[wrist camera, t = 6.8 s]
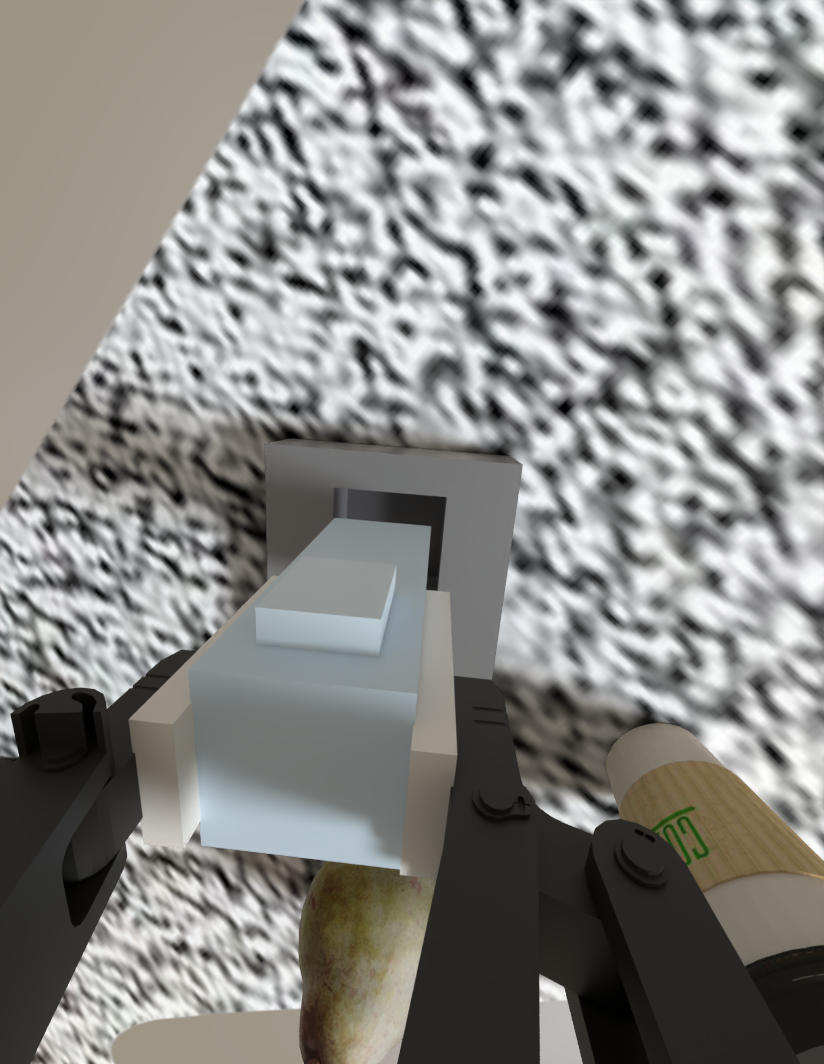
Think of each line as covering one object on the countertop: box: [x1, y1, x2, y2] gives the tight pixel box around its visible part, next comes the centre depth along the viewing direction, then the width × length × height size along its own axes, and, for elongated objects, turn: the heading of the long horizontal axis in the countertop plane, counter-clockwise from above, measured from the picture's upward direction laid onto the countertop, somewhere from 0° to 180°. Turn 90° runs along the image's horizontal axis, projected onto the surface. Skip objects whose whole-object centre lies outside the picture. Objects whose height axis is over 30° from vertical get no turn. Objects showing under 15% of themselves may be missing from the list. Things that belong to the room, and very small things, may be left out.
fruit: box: [298, 861, 436, 1064], centre depth 27 cm, size 10×9×12 cm
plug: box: [188, 518, 431, 869], centre depth 13 cm, size 4×5×11 cm
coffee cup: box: [606, 723, 824, 1064], centre depth 21 cm, size 10×10×15 cm
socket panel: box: [265, 438, 523, 680], centre depth 25 cm, size 12×21×4 cm, turn 176°
